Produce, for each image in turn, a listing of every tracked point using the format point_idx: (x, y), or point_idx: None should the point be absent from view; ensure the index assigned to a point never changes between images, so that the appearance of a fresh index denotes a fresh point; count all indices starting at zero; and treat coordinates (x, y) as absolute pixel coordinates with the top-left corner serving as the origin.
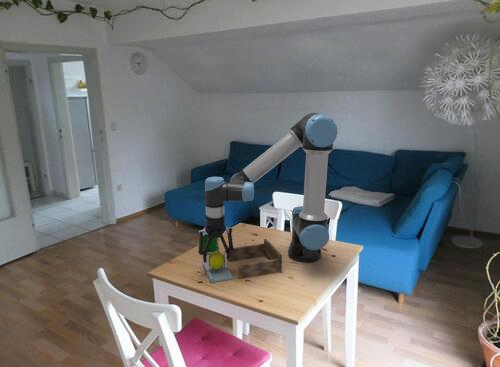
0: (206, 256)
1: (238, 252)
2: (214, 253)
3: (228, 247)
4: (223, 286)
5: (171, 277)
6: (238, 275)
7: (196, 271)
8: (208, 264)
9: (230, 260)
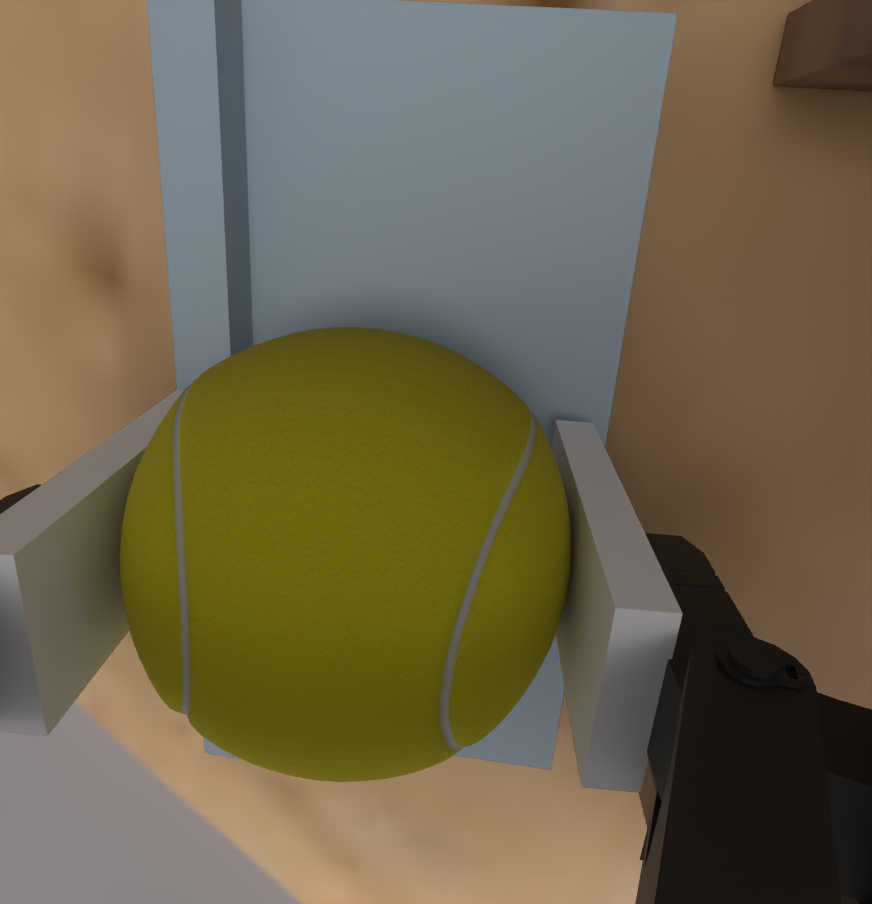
0: (6, 681)
1: None
2: (247, 704)
3: (846, 791)
4: (380, 790)
5: None
6: (643, 796)
7: (59, 225)
8: None
9: (848, 81)
